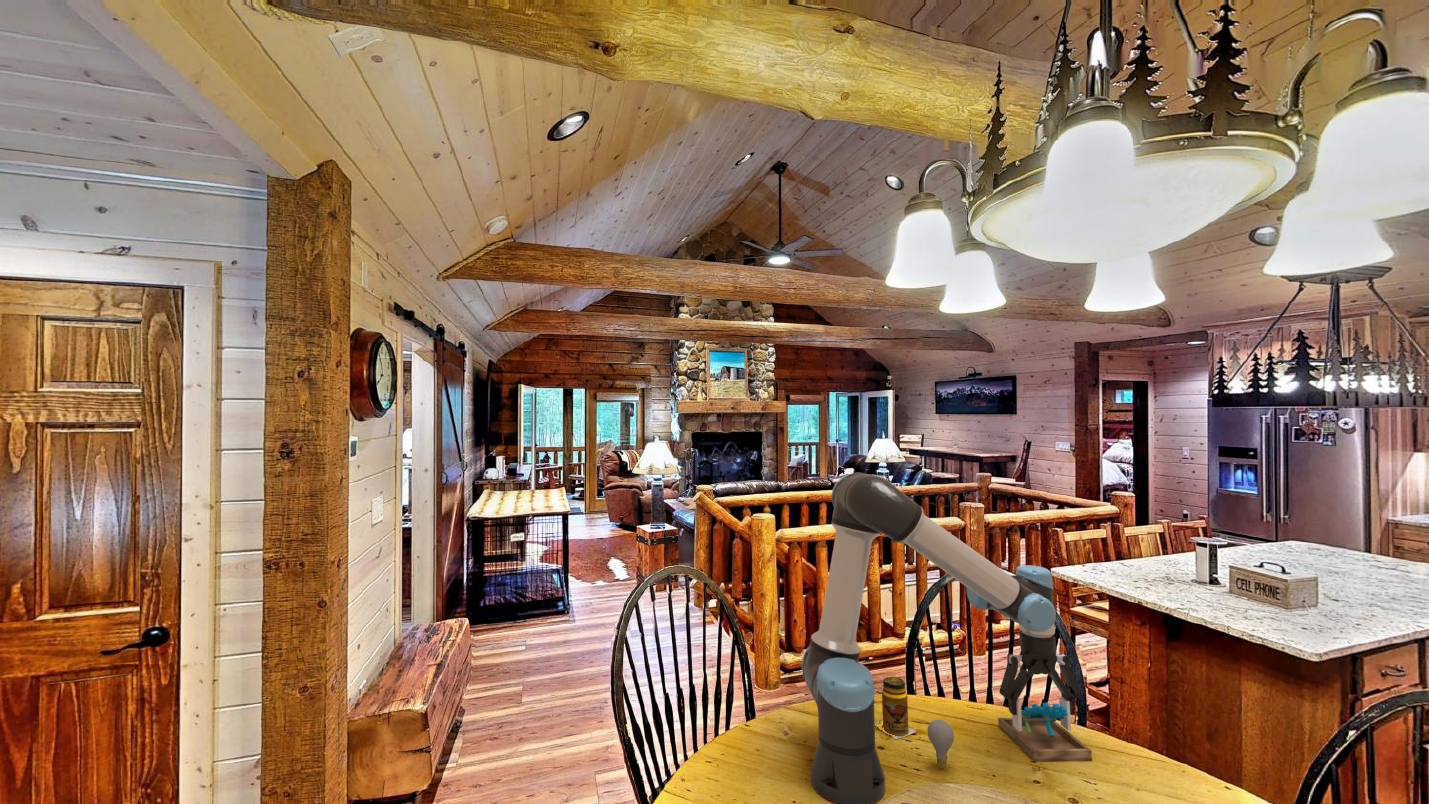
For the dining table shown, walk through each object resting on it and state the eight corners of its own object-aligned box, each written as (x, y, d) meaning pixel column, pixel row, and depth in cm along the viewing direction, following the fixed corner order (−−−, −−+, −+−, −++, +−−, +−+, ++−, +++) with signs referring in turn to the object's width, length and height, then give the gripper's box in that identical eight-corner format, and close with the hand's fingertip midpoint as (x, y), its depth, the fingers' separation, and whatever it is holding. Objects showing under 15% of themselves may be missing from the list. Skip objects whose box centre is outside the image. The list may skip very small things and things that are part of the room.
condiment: (895, 740, 131) (894, 688, 132) (870, 724, 139) (869, 675, 140) (917, 732, 135) (915, 682, 136) (891, 717, 142) (889, 669, 143)
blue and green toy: (1063, 716, 132) (1068, 699, 126) (1073, 743, 128) (1079, 727, 122) (1013, 717, 135) (1016, 700, 129) (1022, 744, 131) (1024, 728, 125)
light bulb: (939, 777, 117) (937, 728, 117) (923, 763, 122) (921, 716, 123) (961, 773, 118) (959, 725, 119) (944, 759, 123) (942, 713, 124)
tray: (1033, 761, 122) (1033, 751, 122) (998, 726, 137) (998, 717, 137) (1092, 760, 122) (1091, 750, 122) (1050, 726, 137) (1050, 717, 137)
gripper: (996, 638, 128) (1001, 736, 126) (1096, 637, 128) (1101, 735, 126) (981, 627, 135) (984, 720, 134) (1074, 627, 135) (1079, 719, 134)
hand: (1041, 727), depth 130 cm, fingers closed on blue and green toy, 11 cm apart
